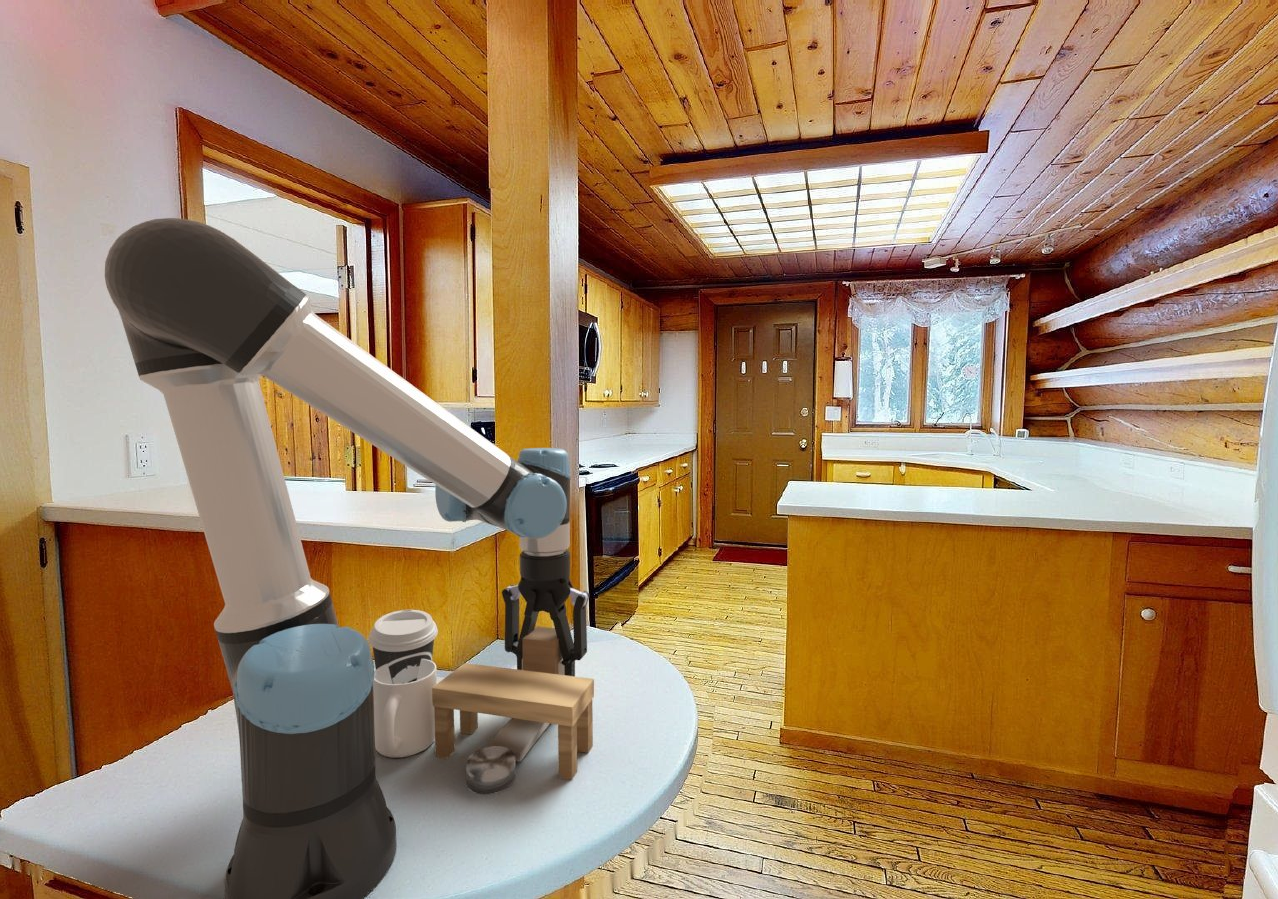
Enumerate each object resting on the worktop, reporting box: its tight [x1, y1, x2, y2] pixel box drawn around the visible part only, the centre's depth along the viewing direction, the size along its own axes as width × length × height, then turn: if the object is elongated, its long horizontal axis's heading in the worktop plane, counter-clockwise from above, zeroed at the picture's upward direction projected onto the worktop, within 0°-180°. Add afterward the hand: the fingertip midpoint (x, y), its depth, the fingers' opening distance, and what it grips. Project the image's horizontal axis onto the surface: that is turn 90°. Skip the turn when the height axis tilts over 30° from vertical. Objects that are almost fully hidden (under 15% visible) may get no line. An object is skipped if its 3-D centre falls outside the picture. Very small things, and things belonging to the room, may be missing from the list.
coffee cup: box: [367, 609, 439, 684], centre depth 88 cm, size 10×10×15 cm
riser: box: [432, 662, 595, 781], centre depth 80 cm, size 8×20×10 cm, turn 75°
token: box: [465, 746, 517, 795], centre depth 74 cm, size 6×6×2 cm
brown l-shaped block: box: [485, 626, 563, 762], centre depth 85 cm, size 17×5×12 cm, turn 165°
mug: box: [373, 659, 438, 759], centre depth 80 cm, size 12×8×10 cm
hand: (546, 698), depth 90 cm, fingers closed on brown l-shaped block, 5 cm apart
